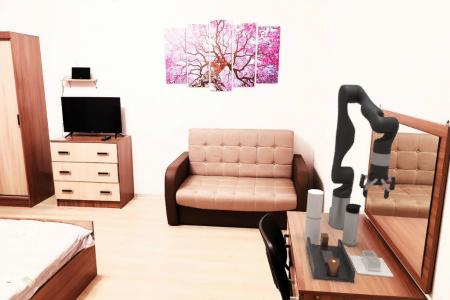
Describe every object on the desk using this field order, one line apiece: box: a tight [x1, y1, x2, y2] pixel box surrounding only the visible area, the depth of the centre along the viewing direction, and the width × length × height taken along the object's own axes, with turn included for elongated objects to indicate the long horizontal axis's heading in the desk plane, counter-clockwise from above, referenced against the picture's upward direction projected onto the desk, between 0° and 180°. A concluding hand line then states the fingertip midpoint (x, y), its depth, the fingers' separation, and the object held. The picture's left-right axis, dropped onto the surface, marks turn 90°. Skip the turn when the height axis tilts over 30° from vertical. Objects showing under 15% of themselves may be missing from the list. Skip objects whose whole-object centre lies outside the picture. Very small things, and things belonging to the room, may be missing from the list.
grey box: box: [361, 249, 381, 272], centre depth 139 cm, size 9×5×5 cm, turn 173°
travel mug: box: [341, 203, 362, 247], centre depth 156 cm, size 6×7×20 cm
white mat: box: [348, 255, 395, 278], centre depth 139 cm, size 14×14×1 cm
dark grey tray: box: [305, 232, 356, 283], centre depth 141 cm, size 26×15×8 cm, turn 173°
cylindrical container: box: [304, 189, 324, 244], centre depth 159 cm, size 7×7×25 cm
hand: (375, 197), depth 145 cm, fingers open, 8 cm apart
